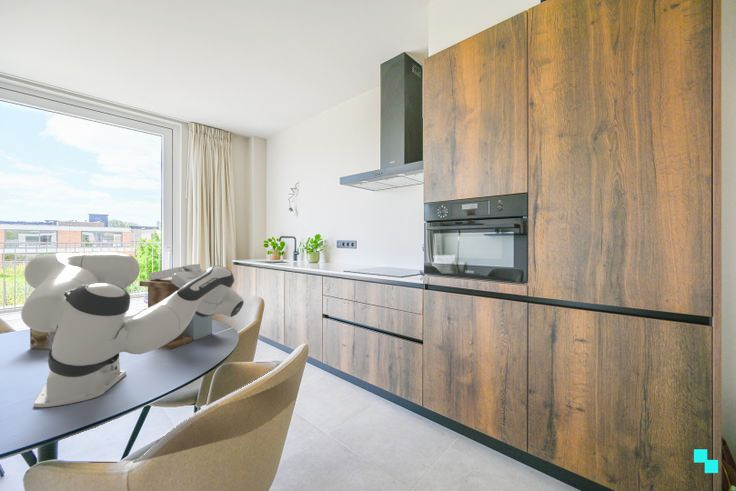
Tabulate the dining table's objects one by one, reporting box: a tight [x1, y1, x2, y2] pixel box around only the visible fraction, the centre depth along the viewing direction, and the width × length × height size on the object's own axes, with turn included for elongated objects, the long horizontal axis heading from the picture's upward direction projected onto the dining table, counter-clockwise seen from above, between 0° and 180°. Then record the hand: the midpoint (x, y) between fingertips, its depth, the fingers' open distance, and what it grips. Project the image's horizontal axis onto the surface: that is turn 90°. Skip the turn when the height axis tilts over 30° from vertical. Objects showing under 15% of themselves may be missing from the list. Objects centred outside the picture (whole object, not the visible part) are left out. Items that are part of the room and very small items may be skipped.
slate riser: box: [183, 314, 213, 342], centre depth 138 cm, size 10×10×15 cm
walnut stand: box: [138, 278, 193, 350], centre depth 128 cm, size 18×10×26 cm, turn 71°
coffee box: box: [29, 328, 57, 350], centre depth 123 cm, size 9×6×16 cm
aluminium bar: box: [148, 263, 202, 280], centre depth 126 cm, size 24×4×3 cm, turn 71°
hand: (186, 268), depth 124 cm, fingers closed on aluminium bar, 4 cm apart
